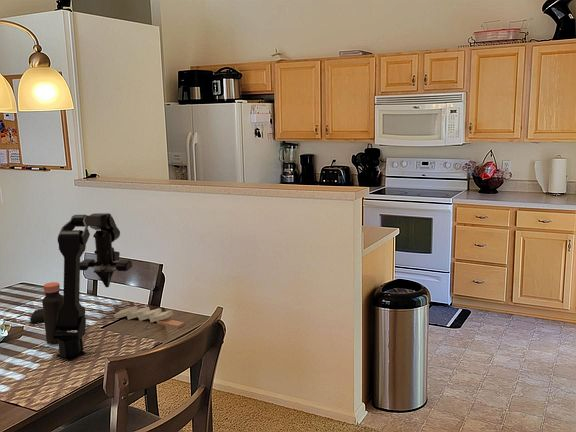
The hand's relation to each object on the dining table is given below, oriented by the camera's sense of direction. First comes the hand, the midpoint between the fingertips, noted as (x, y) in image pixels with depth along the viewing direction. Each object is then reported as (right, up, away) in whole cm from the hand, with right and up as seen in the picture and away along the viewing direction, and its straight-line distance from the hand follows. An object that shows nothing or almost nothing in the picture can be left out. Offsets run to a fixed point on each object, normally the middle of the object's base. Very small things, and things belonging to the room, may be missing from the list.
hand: (107, 287), depth 212 cm
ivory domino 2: (+9, -11, 0) cm, 14 cm away
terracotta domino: (+21, -12, -5) cm, 25 cm away
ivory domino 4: (+18, -11, -3) cm, 22 cm away
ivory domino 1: (+4, -11, +1) cm, 11 cm away
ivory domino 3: (+13, -11, -1) cm, 17 cm away
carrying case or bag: (-21, -12, +1) cm, 24 cm away
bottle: (-11, -16, -20) cm, 28 cm away
